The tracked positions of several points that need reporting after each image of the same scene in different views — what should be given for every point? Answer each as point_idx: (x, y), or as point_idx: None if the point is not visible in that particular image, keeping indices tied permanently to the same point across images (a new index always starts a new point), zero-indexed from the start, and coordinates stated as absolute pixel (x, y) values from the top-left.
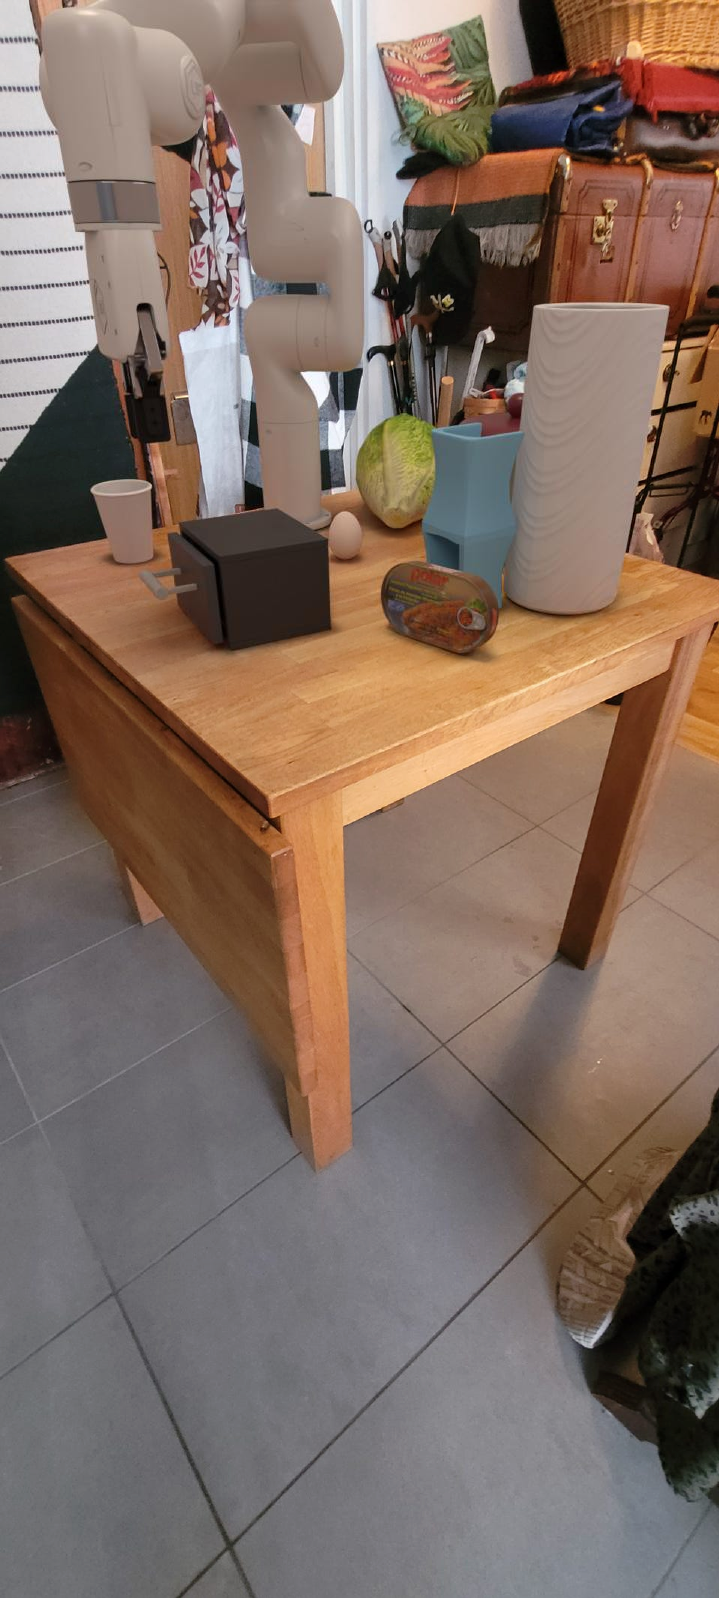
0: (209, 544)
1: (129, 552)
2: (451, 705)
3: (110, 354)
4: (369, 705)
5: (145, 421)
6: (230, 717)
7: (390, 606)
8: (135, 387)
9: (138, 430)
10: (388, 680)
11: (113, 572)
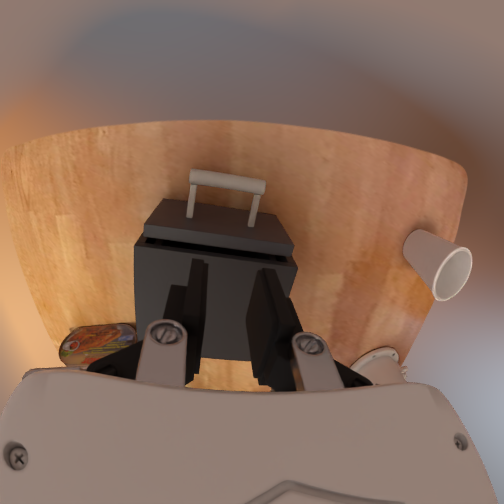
0: (184, 256)
1: (412, 240)
2: (31, 282)
3: (213, 400)
4: (42, 246)
5: (175, 296)
6: (61, 159)
7: (130, 336)
8: (147, 340)
9: (190, 270)
10: (64, 275)
11: (402, 214)
